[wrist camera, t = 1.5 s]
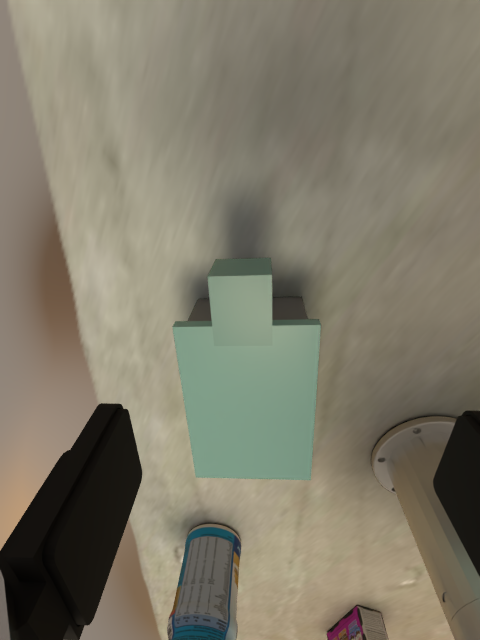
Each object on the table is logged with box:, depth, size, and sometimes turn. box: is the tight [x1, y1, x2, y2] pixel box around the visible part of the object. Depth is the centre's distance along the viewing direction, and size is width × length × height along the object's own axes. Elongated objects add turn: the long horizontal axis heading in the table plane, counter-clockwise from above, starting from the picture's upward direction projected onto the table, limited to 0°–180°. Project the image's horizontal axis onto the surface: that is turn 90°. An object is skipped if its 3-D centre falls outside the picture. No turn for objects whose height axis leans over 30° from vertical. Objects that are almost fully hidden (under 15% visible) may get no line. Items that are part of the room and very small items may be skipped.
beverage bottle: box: [167, 524, 241, 640], centre depth 40 cm, size 8×8×20 cm
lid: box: [173, 258, 321, 480], centre depth 27 cm, size 22×11×4 cm, turn 3°
